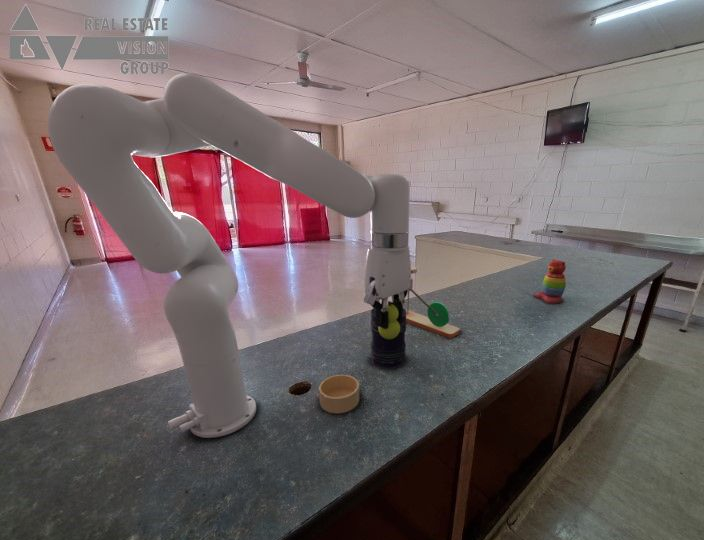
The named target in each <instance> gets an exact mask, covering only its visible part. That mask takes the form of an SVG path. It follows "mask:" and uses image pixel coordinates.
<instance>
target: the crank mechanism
mask: <svg viewBox="0 0 704 540" xmlns="http://www.w3.org/2000/svg"><path fill="white" fill-rule="evenodd" d="M417 272H418V268H417V267H415V266H411V275H413V274H416V273H417ZM413 282H414V279H413V278H412V277H411V284H412V287H411V289H410V290H409V291H408V292H407V303H406V304H407V305H406V309H405V310H406V323H408V324H411V325H414V326H417V327H419V328H421V329H424V330H427V331H430V332H431V333H435V334H438V335H440V336H443V337H445V338H450V339H451V338H454V337H456V336H457V335H459V334H460V332H461V331H460V330H461V328H459V327H458V326H456V325H452V324H450V323H449V321H450V312H449V309H448V308H447V306H446V305H445V304H443V303H442V302H439V301H435V302H432V303H430V304H429V303H427V302H426V300H424V299H423V298H422V297H421V296H420V295H419V294H418V293H417V292H416V291H415V290H414V289H413V284H414V283H413ZM410 293H412V294H413V295H414V296H415V297H416V298H417V299H419V301H421V303H422V304H424V306H425V307H427V310H426V311H427V312H426V313H427V316H426V315H423V314H421V313H418V312H415V311H412V310H410Z"/></svg>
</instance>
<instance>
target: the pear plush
mask: <svg viewBox="0 0 704 540" xmlns="http://www.w3.org/2000/svg"><path fill="white" fill-rule="evenodd" d="M391 302H392V301H390V300H388V301H387V308H386V311H388V328H387V329H384V328H382V327H379V328H378V329H379V333H380V335H381V336H382V337H383V338H385V339H393V338H395V337H396V336H397V335H398V334H399V332H400V325H399V323H398V321H397V320H396V319H397V318H398V314H399V313H398V309H397V308H396V307H395V306H394V305H391Z"/></svg>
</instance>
